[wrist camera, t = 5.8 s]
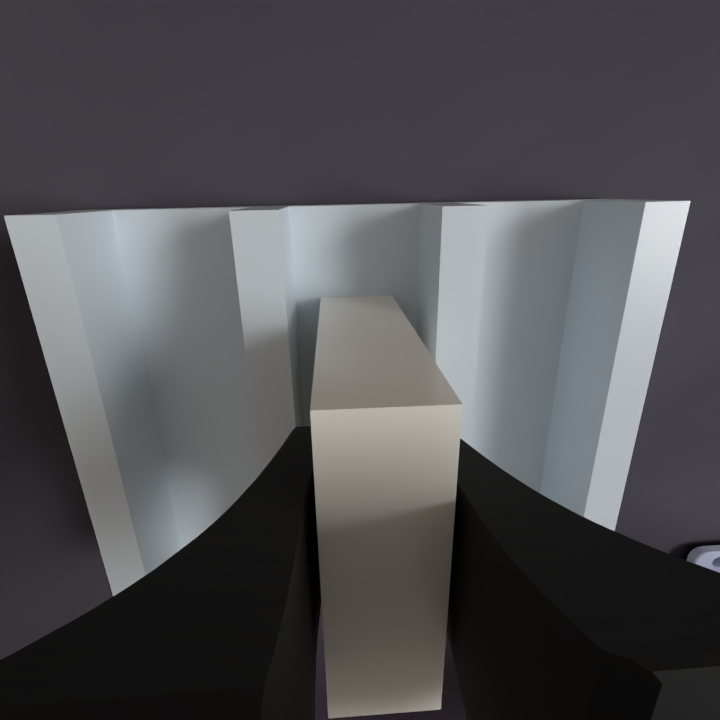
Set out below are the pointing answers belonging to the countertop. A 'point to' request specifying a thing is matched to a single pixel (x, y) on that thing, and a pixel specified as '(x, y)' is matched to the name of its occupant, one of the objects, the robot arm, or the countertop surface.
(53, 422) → the countertop surface
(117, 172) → the countertop surface
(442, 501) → the cream tile
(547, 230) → the drying rack
